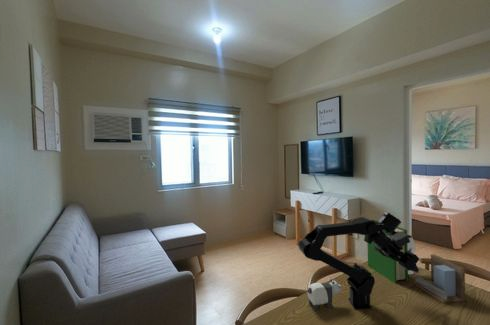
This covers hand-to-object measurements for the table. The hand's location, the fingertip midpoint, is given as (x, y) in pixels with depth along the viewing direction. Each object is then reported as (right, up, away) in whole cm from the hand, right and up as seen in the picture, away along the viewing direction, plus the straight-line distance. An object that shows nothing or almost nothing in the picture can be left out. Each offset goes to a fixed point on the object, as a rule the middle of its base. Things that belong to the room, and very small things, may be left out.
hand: (408, 266), depth 100 cm
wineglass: (+14, -13, +23) cm, 30 cm away
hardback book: (+4, -13, +22) cm, 26 cm away
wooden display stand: (+16, -13, +4) cm, 21 cm away
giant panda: (-35, -15, -1) cm, 38 cm away
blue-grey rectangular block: (+16, -12, +2) cm, 20 cm away
